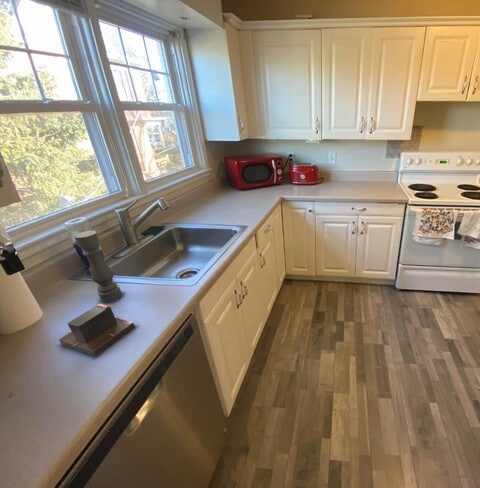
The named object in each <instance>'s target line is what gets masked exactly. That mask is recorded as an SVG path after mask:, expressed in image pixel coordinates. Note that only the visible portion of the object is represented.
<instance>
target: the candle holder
mask: <svg viewBox="0 0 480 488" xmlns="http://www.w3.org/2000/svg"><path fill="white" fill-rule="evenodd" d="M73 237H74V240H75V242H76V245H77V246H78V247H79V248H80V249H81V250H83V251H82V255H83V256H85V257H86V258H87V261H88V263H89V269H90V278H91V280H92V281H93V282H94V283H95V284H97V294H98V297H99V299H100V301H101V303H103V304H106V303H107V304H109V303H112V302H115V301H118V300H119V299H120V298H122V296H123V293H122V290H121V287H120V285H118V283H117V282H116V281H114V271H113V270H112V269H111V267H110V266H109V264H108V263H107V262H106V261H105V259H104V257H103V254H102V252H103V248H102V247H101V246H100V241H101V240H100V238H99V235H98V233H97V231H96V230H86V231H81V232H78V233H76V234H74V235H73Z"/></svg>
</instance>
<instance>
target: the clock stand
mask: <svg viewBox="0 0 480 488" xmlns="http://www.w3.org/2000/svg"><path fill="white" fill-rule="evenodd" d="M119 317H120V316H119V315H117V316H115V318H116V321H117V323H115V324H114V325H112V326H111V327H109V328H108V329H106V330H105V331H103V332H102V333H101V334H99V335H98V336H96V337H95V338H93V339H92V340H90V341H89V342H87V343H85V342H82V341H79V340H76V339H75V337H74V335H73V333H72V331H70V332H68V333H66V334H65V335H64V336H62V337H61V338H59V339H58V341H59V343H60V344H61V345H62V346H64V347H68V348H69V349H70V348H71V349H73V350H76V351H79V352H82V353H85V354H88V355H90V356H93V357H98V356H99V355H100V354H101V353H103V352H105V351H106V350H107V349H108V348H110V347H111V346H112V345H113V344H115V343H116V342H118V341H119V340H120V339H122V338H123V337H125V335H127V334H129V333H130V332H131V331H132V330H134V329H135V328H136V326H135V324H134V322H133V321H129V320H126V319H122V318H119Z"/></svg>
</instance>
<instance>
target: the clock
mask: <svg viewBox="0 0 480 488" xmlns="http://www.w3.org/2000/svg"><path fill="white" fill-rule="evenodd" d="M113 311H114V310H113V309H112V306H110V305H106V304H104V303H103V304H102V303H97V304H96V305H95V306H94V307H92V308H90V309H89V310H86V311H85V312H84V313H81V314H80V315H79V316H77V317H75V318H73V319H71V320H70V321H69V322H67V326H68V327H69V329H70V332H72V333H73V335H74V337H75V339H76V340H79V341H82V342H85V343H87V342H89V341H90V340H92V339H93V338H95V337H96V336H98V335H99V334H101V333H102V332H103V331H105V330H106V329H108V328H109V327H111V326H112V325H114V324H115V323H117V321H116V318H115V317H116V316H115V314H114V312H113Z"/></svg>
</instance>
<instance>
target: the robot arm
mask: <svg viewBox="0 0 480 488" xmlns="http://www.w3.org/2000/svg"><path fill="white" fill-rule="evenodd" d="M0 251H2V252H0V266H1V269H3V271H4V273H5V274H6V275H7V276H13V275H15V274H17V273H20V272H23V271H25V270H26V267H25V265H24V263H23V262H22V260H21V258H20V256H19V253H18V252H17V249H16V247H15V246H14V243H13V241H12V240H11V237H10V236H9V234H8V232H7V230H6V228H5V227H4V225H3V224H2V222H1V221H0Z"/></svg>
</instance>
